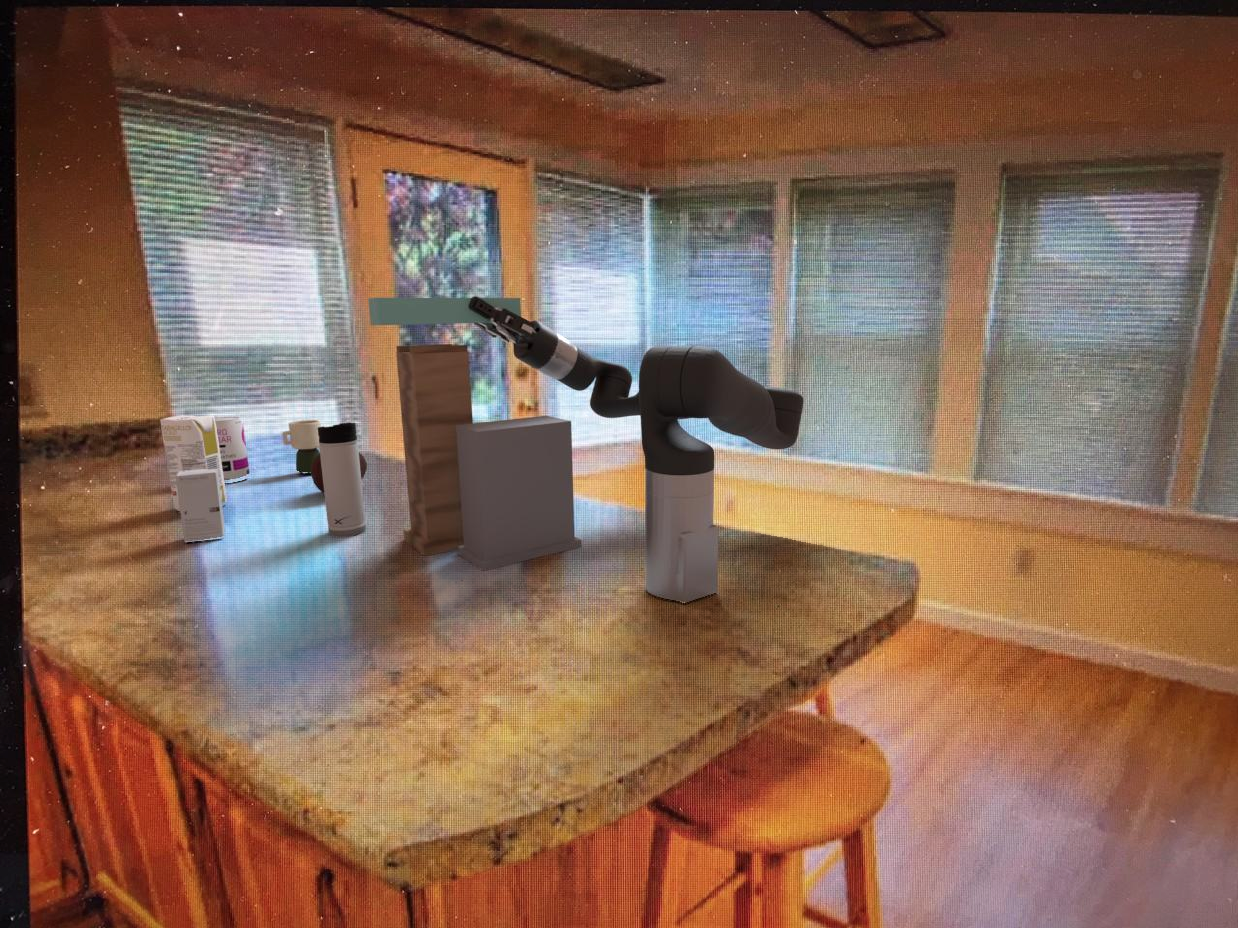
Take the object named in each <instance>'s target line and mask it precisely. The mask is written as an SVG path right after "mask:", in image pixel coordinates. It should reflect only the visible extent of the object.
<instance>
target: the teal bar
mask: <svg viewBox="0 0 1238 928" xmlns="http://www.w3.org/2000/svg"><path fill="white" fill-rule="evenodd" d="M479 298H480V299H482V300H483V301H485V302H487V303H488V304H490V305H491V306H493V308H494V307H499V308H500V309H501V310H502V309H503V308H504V309H507V310H508V311H510V312H512V313H514V314H516V315H518V316H520V317H522V310H521V309H522V308H521V307H522V306H521V305H522V304H521V297H479ZM471 299H472V297H465V298H463V297H372V298H370V297H369V298H367V301H368V309H369V320H370V322H369V323H370V326H402V325H403V326H404V325H405V326H407V325H408V326H409V325H411V326H412V325H452V324H454V325H455V324H458V325H459V324H474V323H491V322H490V321H489V318H488V319H486V318H484V317H483V316H481V315H479V314H478V313H476V312H474V311H473V310H471V309H469V303H470V301H471ZM510 319H511V320H513V319H512V318H509V320H510Z"/></svg>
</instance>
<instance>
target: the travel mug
mask: <svg viewBox="0 0 1238 928" xmlns="http://www.w3.org/2000/svg"><path fill="white" fill-rule="evenodd" d="M356 425H357V424H356V422H342V423H339V424H333V425H331V426H321V427H318V436H319V445H320V446H319V447H318V449H319V452H320V457H321V466H322V475H323V484H324V493H323V494H324V500H325V502H324V503H325V509H326V519H327V525H328V527H327V529H328V534H329V535H330V536H332V537H336V536H337V537H339V538H345V537H351V536H352V537H353V536H356V535H357V536H358V535H359V534H360V535H361V534H362V533H364V532H365V531H366V529H367V525H366V516H365V515H366V514H365V503H364V493H363V484H362V483H363V482H362V480H361V471H360V461H359V453H360V452H359V444H358V437H357V426H356Z"/></svg>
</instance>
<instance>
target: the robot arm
mask: <svg viewBox="0 0 1238 928" xmlns="http://www.w3.org/2000/svg"><path fill="white" fill-rule="evenodd" d="M462 298H466V297H462ZM471 298H472V299H471V301H470V303H469V309H471V310H473V311H474V312H476V313H478V314H479V315H481V316H483V317H484V318H486V319H488V318H489V321H490V322H491V323H473V325H475V326H477V327H478V328H479V329H481V330H482V331H484V332H485V333H486V334H488V335H489V336H491V338H495V339H496V338H499V339H500V341H503V342H504V343H507V344H509V343H512V344H513V348H512V349H513V350H512V351H513V355H514V357H515V358H516V359H518V360H519V361H521V362H522V363H524V364H526V365H527V366H530V367H531V368H533V369H535V370H537V371H538V372H540V373H541V374H543V375H545V376H547V377H550V378H553V379H554V380H556V381H557V382H560V383H561V384H564V386H566V387H568V388H569V389H570V388H571V389H572V390H575V391H578V392H581V391H585V390H587V389H588V388H589V387H590V386H591V385H593V384H594V385H593V389H592V391H591V394H590V395H591V396H590V398H589V407H590V409H591V410H592V412H594V414H595V415H597V416H600V417H602V418H606V419H616V418H617V419H618V418H625V417H635V416H636V417H637V416H640V428H641V430H640V433H641V434H640V435H641V436H640V437H641V448H642V452H643V454H644V455H643V456H644V486H645V487H644V500H645V501H644V505H645V506H644V508H645V509H644V510H645V511H644V512H645V513H644V515H645V517H644V520H645V521H644V523H645V525H644V526H645V527H644V528H645V531H644V532H645V535H644V536H645V540H644V541H645V542H644V543H645V545H644V547H645V553H644V554H645V590H646V591H647V592H648V593H649V594H650V593H651V594H653V595H655V596H658V597H661V598H666V599H671V600H679V601H681V602H688V601H692V600H695V599H698V598H701V597H704V598H706V597H705V596H707V595H710V596H712V595H711V594H713V595H715V594H714V593H716V594H718V587H719V586H718V585H719V584H718V583H719V582H718V580H719V578H718V577H719V570H718V569H719V526H717V525H714V508H715V507H714V502H715V501H714V494H715V450H714V449H713V447H712V446H711V445H710V444H708V443H707V442H705V441H703V440H701V439H699V438H697V437H695V436H693V435H691V434H690V433H688V431H686V430H685V429H684V428H683V427H682V425H681V424H680V423H679V420H688V419H708V421H709V422H710V424H712V425H713V426H714V427H715V428H717V429H718V431H721V432H724V433H725V434H729V435H731V436H736V437H740V438H743V439H746V440H748V441H749V442H751V443H753V444H755V445H756V446H758V447H762V448H766V449H770V450H785V449H789V448H791V447H793V446H794V445H795V444H796V441H797V440H798V437H799V432H800V430H799V429H800V427H801V426H800V425H801V420H802V414H803V409H804V400H805V399H804V397H803V395H801V394H800V393H799V392H798V391H797V392H796V391H794V390H791V389H787V388H780V387H774V386H773V387H772V386H764V385H762V384H761V383H760V382H758V381H756V380H755V379H753V378H752V377H749V376H748V375H746V374H744V373H743V372H741V371H740V370H738V369H737V368H736V367H735V365H733V364H732V362H731V361H730V360H729V359H728V358H727V357H726V356H725V355H724V354H723V353H722V352H720V351H718V350H717V349H716V348H714V347H710V346H704V345H657V346H656V345H655V346H653V347H650V348H649V349H648V350H647V351H646V352H645V354H644V355H643V357H642V360H641V363H640V367H639V372H638V373H639V374H638V392H637V393H636V394H634V395H631V396H629V395H630V393H631V392H630V391H631V387H632V383H633V377H632V374H631V372H630V370H629V369H628V368H627V367H626V366H625V365H622V364H620V363H616V362H611V361H609V360H608V361H607V360H604V359H602V358H598V357H595V356H592V355H590V354H588V353H587V352H585V351H584V350H582V349H581V348H579V347H577V346H576V345H574V344H573V343H572V342H571V341H569V340H568V339H567V338H566V337H564V336H563V335H561V334H560V333H558V332H556V331H554V330H553V329H551V328H550V327H548V326H547V325H545V324H543V323H542V322H540V321H539V320H531V321H530V320H528V319H527V318H524V317H522V316H521V317H520V316H518V315H516V314H514V313H512V312H510V311H508V310H507V309H504V308H503V309H502V310H501V309H500V308H499V307H494V308H493V306H491V305H490V304H488V303H487V302H485V301H483V300H482V299H480V298H481V297H478V296H472V297H471ZM509 318H512V319H513V320H511V319H510V320H509ZM593 382H594V383H593ZM651 594H650V595H651ZM653 595H652V596H653ZM655 596H654V597H655ZM658 597H657V598H658ZM707 597H708V596H707ZM661 598H660V599H661ZM701 599H702V598H701ZM671 600H670V601H671ZM698 600H699V599H698ZM695 601H696V600H695ZM681 602H680V603H681ZM692 602H693V601H692Z"/></svg>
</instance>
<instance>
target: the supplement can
mask: <svg viewBox="0 0 1238 928" xmlns="http://www.w3.org/2000/svg"><path fill="white" fill-rule="evenodd" d="M214 418H215V423H216V428H217V434H218V441H219V448H220V455H221V462H222V469H223V476H224V480H230V479H236V478H240V477H243V476H246V475H247V474H249V473H250V474H251V472H250V465H249V457H248V451H247V443H246V436H245V429H244V428H245V427H244V423H243V421H242V420H241V419H240V417H239V416H220V417H214Z"/></svg>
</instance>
